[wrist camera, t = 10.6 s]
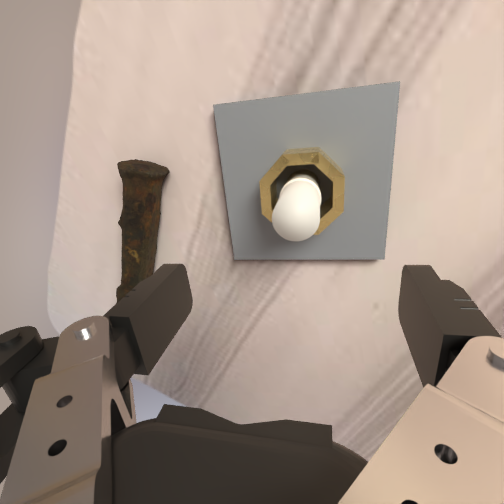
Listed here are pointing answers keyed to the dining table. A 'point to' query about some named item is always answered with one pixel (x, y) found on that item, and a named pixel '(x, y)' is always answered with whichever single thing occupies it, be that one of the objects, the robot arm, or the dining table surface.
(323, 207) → the ring
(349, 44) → the dining table surface
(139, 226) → the hand tool
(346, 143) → the post base
